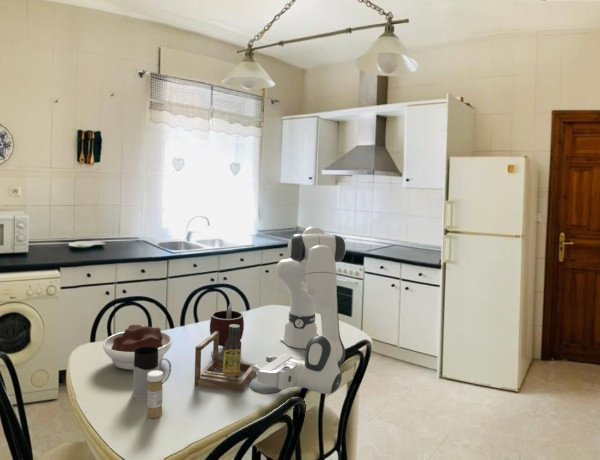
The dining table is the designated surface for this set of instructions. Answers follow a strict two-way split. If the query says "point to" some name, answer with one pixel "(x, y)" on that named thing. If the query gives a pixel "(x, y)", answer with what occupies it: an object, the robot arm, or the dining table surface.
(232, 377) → the birch offcuts
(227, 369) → the sauce bottle
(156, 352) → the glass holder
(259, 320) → the dining table surface
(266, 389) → the slate mat
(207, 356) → the dining table surface
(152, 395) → the sprinkles bottle
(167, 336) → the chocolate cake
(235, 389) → the walnut rack
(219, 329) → the mate gourd
